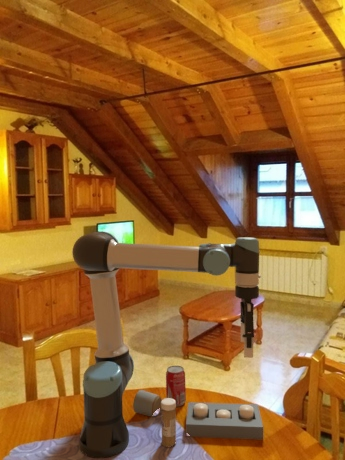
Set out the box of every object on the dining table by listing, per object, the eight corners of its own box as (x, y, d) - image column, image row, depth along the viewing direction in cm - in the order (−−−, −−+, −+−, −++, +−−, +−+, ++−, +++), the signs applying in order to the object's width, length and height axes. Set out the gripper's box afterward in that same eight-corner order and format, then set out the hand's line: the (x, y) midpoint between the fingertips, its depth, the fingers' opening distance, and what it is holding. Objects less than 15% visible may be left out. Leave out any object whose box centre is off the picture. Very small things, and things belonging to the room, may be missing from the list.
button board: (186, 436, 124) (185, 424, 124) (188, 413, 138) (188, 402, 138) (263, 439, 122) (263, 427, 121) (257, 415, 136) (257, 404, 135)
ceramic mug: (153, 421, 133) (153, 399, 133) (132, 416, 136) (132, 394, 136) (167, 407, 142) (167, 386, 142) (147, 403, 146) (147, 382, 146)
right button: (239, 420, 127) (239, 411, 127) (238, 413, 131) (238, 404, 131) (254, 421, 126) (254, 412, 126) (252, 413, 131) (252, 404, 131)
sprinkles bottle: (158, 443, 121) (157, 400, 120) (169, 437, 124) (168, 395, 123) (168, 450, 117) (167, 406, 116) (179, 443, 120) (178, 400, 120)
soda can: (189, 401, 146) (188, 367, 146) (179, 409, 140) (178, 374, 140) (173, 396, 150) (172, 363, 149) (162, 404, 144) (162, 370, 143)
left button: (193, 418, 128) (193, 410, 128) (194, 411, 133) (194, 403, 133) (207, 419, 128) (207, 410, 128) (207, 412, 132) (207, 403, 132)
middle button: (216, 425, 128) (216, 416, 127) (216, 417, 132) (216, 409, 132) (230, 426, 127) (230, 417, 127) (230, 418, 132) (230, 409, 132)
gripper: (264, 293, 115) (263, 364, 116) (254, 278, 139) (253, 336, 141) (238, 293, 115) (237, 363, 116) (233, 278, 140) (232, 336, 141)
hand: (246, 349), depth 129 cm, fingers open, 13 cm apart
